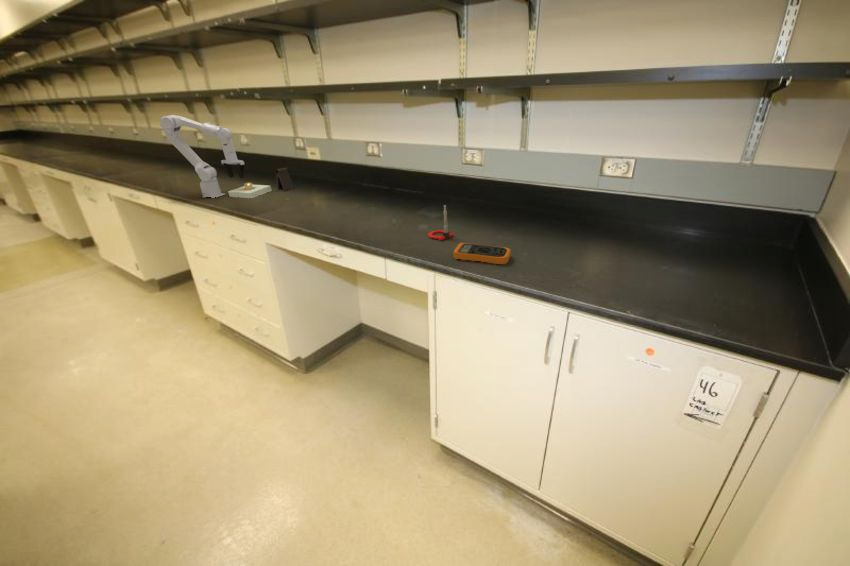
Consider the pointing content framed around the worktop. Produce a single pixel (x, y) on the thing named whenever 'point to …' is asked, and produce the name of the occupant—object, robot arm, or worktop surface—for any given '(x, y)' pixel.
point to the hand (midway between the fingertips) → (236, 177)
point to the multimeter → (482, 253)
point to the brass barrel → (248, 186)
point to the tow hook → (445, 231)
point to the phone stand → (283, 180)
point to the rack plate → (250, 191)
